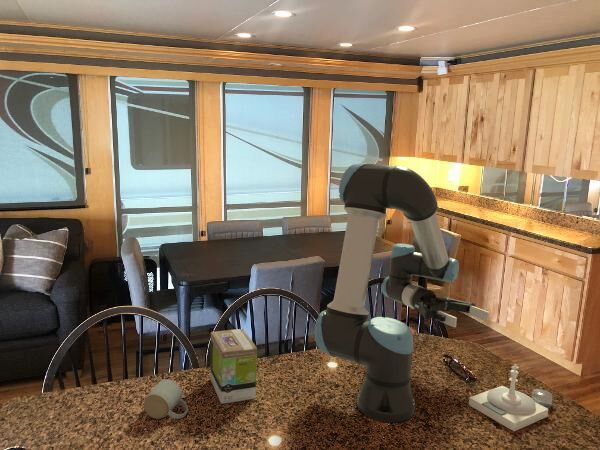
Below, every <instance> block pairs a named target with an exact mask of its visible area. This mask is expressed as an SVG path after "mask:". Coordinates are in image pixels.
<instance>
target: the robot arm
mask: <svg viewBox="0 0 600 450" xmlns="http://www.w3.org/2000/svg"><path fill="white" fill-rule="evenodd" d="M340 178H341V179H340V182H339V186H338V193H339V195H338V196H339V199H340V201H341V202H342V203H343V204H344V207H343V210H344V211H345V212H346V214H347V221H346V226H345V233H344V239H343V244H342V250H341V251H342V252H341V255H340V256H341V257H340V261H339V267H338V271H337V272H338V273H337V279H336V285H335V291H334V297H333V300H332V301H330V302H329V303H328V304H327V306H326V309H325V310H322V311H321V312H320V313H319V314H318V318H317V319H316V321H315V326H314V340H315V344H316V346H317V348H318V349H319V351H321V352H322V353H325V354H327V355H329V356H332V357H333V358H338V359H342V360H345V361H348V362H353V363H355V364H359V365H362V366H363V367H364V366H365V376H364V380H363V382H362V384H361V388H360V389H359V391H358V393H357V401H356V405H357V408H358V410H359V411H360V412H361V413H362V414H363V415H365V416H366V417H368V418H370V419H372V420H375V421H378V422H383V423H401V422H405V421H408V420H409V419H411V418H412V417H413V416H414V414H415V411H416V400H415V397H414V394H413V390H412V386H411V373H412V361H413V352H414V349H415V348H414V334H413V331H412V330H411V328H410V327H409V326H408V325H407V324H406V323H404V322H402V321H401V320H398V319H395V318H392V317H387V316H386V317H384V316H376V317H372V318H370V320H369V314H370V313H369V311H368V309H367V308H366V298H367V293H368V285H369V280H370V274H371V268H372V263H373V262H372V261H373V257H374V251H375V245H376V240H377V234H378V233H377V232H378V227H379V222H380V220H381V219H383V218H384V217H386V213H387V209H390V210H397V211H401V212H402V214H403V216H404V218H406V219H407V220H409V223H410V225H411V228H412V231H413V234H414V237H415V239H416V242H417V245H418V247H419V250H420V252H417V251H415V249H416V248H415V246H414V245H413V244H409V243H408V244H407V243H396V244H393V245H392V247H391V253H390V262H389V276H386V277H385V278H384V279H383V281H382V283H381V286H380V287H381V292H382V294H383V295H384V296H385V297H387V298H388V299H390V300H392V301H394V302H397V303H400V304H402V305H404V306H407V307H409V308H410V309H411V310H415V311H417V312H419V314H420V315H421V316H423V318H424V319H425V320H427V321H428V320H431V323H436V322H437V321H438V322H440V323H444V324H445V325H447V326H450V327H452V328H456V327H457V322H458V321H457V320H458V317H456V316H453V315H451V314H449V313H447V312H450V311H452V312H453V311H454V312H458V313H459V312H461V313H466V314H469V315H471V316H472V317H475V318H478V319H480V320H483V321H485V322H489V321H490V314H491V313H490V311H488V310H485V309H483V308H479V307H478V306H477V307H476V303H475V302H472V301H471V302H469V301H464V300H458V299H456V298H455V299H453V298H450V297H447V296H445V297H444V298H441V297H439V296H437V295H436V294H435V292H434V291H433V290H431V289H429V288H425V287H423V286H421V285H418V284H416V283H413V282H412V281H413V280H412V279H413V276H415V277H423V278H425V279H431V280H437V281H440V282H449V283H454V282H455V281H456V279H457V278H458V275H459V272H460V271H459V269H460V263H459V260H457V259H455V258H453V257H449V255H448V251H447V247H446V245H445V240H444V236H443V233H442V229H441V226H440V225H441V224H440V223H439V219H438V214H437V210H438V209H439V207H438V205H439V204H438V200H437V197H436V194H435V193H434V192H435V191H433V188H432V187H431V186H430V184H429V183H428V182H427V181H426V180H425V179H424V178H423V177H422V176H421V175H420V174H418V172H416V171H414V170H413V169H411V168H408V167H406V166H400V165H387V164H377V163H367V162H366V163H354V164H350V166H349V167H348V168H347V169H346V170H345V171H344V172H343V174H342V176H341V177H340Z"/></svg>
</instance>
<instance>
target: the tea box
mask: <svg viewBox="0 0 600 450" xmlns="http://www.w3.org/2000/svg"><path fill="white" fill-rule="evenodd" d="M209 342H210V348H209V349H210V353H209V354H210V355H209V379H210V382H211V384H212V386H213V388H214V390H215V392H216V395H217V398H218V400H219V402H220V404H230V403H235V402H243V401H248V400H254V399H256V393H257V371H258V370H257V369H258V367H257V366H258V365H257V363H258V348H257V346H256V344H255V343H254V342H253V340H252V338H250V337H249V335H248V334H247V332H246V331H245V330H244V328H239V329H238V328H237V329H229V330H218V331H211V332H210V341H209Z"/></svg>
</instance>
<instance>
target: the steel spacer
mask: <svg viewBox="0 0 600 450" xmlns="http://www.w3.org/2000/svg"><path fill="white" fill-rule="evenodd" d="M531 398H532V399H533V400H534V402H536V403H538V404H540V405H542V406H544V407H545V408H547V409H550V408H551V407H552V403H553V394H552V393H551V392H550V391H548V390H546V389H542V388H535V389H533V390H532V394H531Z"/></svg>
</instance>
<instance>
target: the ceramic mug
mask: <svg viewBox="0 0 600 450" xmlns="http://www.w3.org/2000/svg"><path fill="white" fill-rule="evenodd" d="M178 405H180V406H181V407H182V408H183V410H184V412H183V413H176V412H173V410H174V409H175V408H176V406H178ZM143 409H144V411H145V413H146V414H147V415H148V416H149V417H150V418H153V419H154V420H160V419H164V418H165V417H167V416H169V417H170V418H172V419H176V420H180V419H184V417H185V416H186V415H187V413H188V411H189V407H188V404H187V403H186V402H185V400H183V390H182V388H181V387H180V385H179V384H178V383H177V382H175V381H174V380H172V379H168V378H167V379H166V378H165V379H161V380H160V381H159V382H158V383H157V384H156V385H154V387H153V388H152V390H151V391H150V392H149V393H148V394H147V395H146V397H145V399H144V402H143Z"/></svg>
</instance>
